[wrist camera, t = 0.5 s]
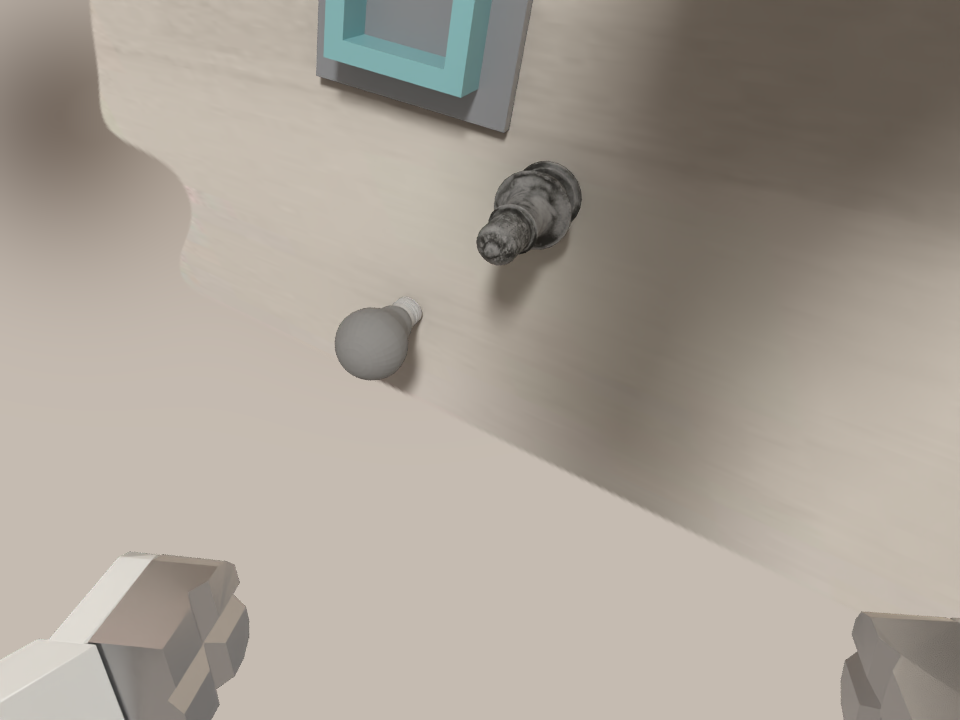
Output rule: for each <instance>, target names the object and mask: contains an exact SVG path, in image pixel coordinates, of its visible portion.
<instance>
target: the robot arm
mask: <svg viewBox="0 0 960 720" xmlns="http://www.w3.org/2000/svg"><path fill="white" fill-rule="evenodd" d="M239 583H240V581H239V578H238V575H237V571H236V568H235V565H234V564H232V563H230V562H227V561H220V560H211V559H201V558H192V557H182V556H173V555H164V554H163V555H156V554H147V553H138V552H128V553H126V554H124V555H122V556H120V557H118V559H117V560H116V561H115V562H114V563H113V564H112V565H111V567H110V568H109V569H108V570H107V571H106V573H105V574H104V575H103V576H102V577H101V578H100V580H99V581H98V582H97V583H96V584H95V585H94V587H93V588H92V589H91V590H90V591H89V593H88V594H87V595H86V596H85V597H84V598H83V600H82V601H81V602H80V603H79V604H78V606H77V607H76V608H75V609H74V610H73V612H72V613H71V614H70V615H69V616H68V617H67V619H66V620H65V621H64V622H63V623H62V624H61V626H60V627H59V628H58V629H57V630H56V632H55V633H54V634H53V635H52V636H51V637H50V639H49V640H45V639H37V640H35V641H33V642H32V643H30V644H28V645H26V646H24V647H23V648H21V649H19V650H17V651H15V652H14V653H12V654H10V655H8V656H6V657H4V658H3V659H1V660H0V720H211V719H212V718H213V716H214V714H215V712H216V710H217V708H218V706H219V700H218V695H217V690H216V689H217V688H219V687H220V686H222V685H223V684H224V683H226V682H227V681H229V680H230V679H231V678H233V677H234V676H235V674H236V673H237V671H238V669H239V667H240V665H241V663H242V661H243V659H244V655H245V651H246V647H247V643H248V638H249V618H248V613H247V609H246V606H245V605H244V604H243V603H242V602H241V601H240V600H239V599H238V598H237V597H236V596H235V595H234V594H233V593H234V592H235V590H236V588H237V587H238V585H239ZM852 636H853V640H854V642H855V645H856V648H857V652H856V653H855V654H853V655H852V656H850V657H849V658H848V659H846V660H845V663H844V667H843V673H842V677H841V706H842V712H843V717H844V720H960V618H950V619H949V618H946V617H933V616H919V615H905V614H891V613H877V612H861V613H860V614H859V616H858V617H857V618H856V620H855V624H854V628H853V631H852Z"/></svg>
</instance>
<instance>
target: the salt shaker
mask: <svg viewBox="0 0 960 720" xmlns="http://www.w3.org/2000/svg"><path fill="white" fill-rule="evenodd" d="M581 200H582V199H581V190H580V187H579V184H578V181H577V180H576V178H575V177H574V175H573V174H572V173H571V172H570V171H569V170H568V169H567V168H565V167H564V166H562V165H560V164H558V163H554V162H550V161H540V162H537V163H534V164H531V165H530V166H528V167H527V168H526V169H524V170H523V171H521V172H518V173H515V174H512V175H511V176H510V177H508V178H507V179H505V180H504V182H503V183H502V184H501V185H500V187H499V188H498V191H497V193H496V196H495V202H494V211H493V212H492V214H491V215H490V218H489V222H488V224H486V225H485V226H484V227H483V228H482V229H481V231H480V232H479V234H478V237H477V248H478V251H479V253H480V254H481V256H482V257H483V258H484V259H485V260H486V261H488V262H489V263H491V264H494V265H504V264H507V263H509V262H511V261H512V260H513V259H514V258H515V257H516V256H517V255H518V254H523V253H526V252H528V251H529V250H531V249H545V248H549V247H551V246H553V245H555V244H556V243H558V242H559V241H560V240H561V239H562V238H563V237H564V236H565V235H566V232H567V230H568V228H569V226H570V222H571V221H572V220H573V219H574V218H575V217H576V216H577V214H578V212H579V209H580V206H581Z"/></svg>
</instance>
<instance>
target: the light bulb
mask: <svg viewBox="0 0 960 720" xmlns="http://www.w3.org/2000/svg"><path fill="white" fill-rule="evenodd" d="M421 316H422V311H421V308H420V306H419V304H418V303H417V302H416V301H415V300H414V299H412V298H410V297H401V298H399V299H398V300H397V301H396V302H395V303H393V304H392V305H390V306H386V307H384V308H382V309H381V308H363V309H360V310H358V311H355V312H353V313H351V314H350V315H349V316H347V317H346V318H345V319H344V320H343V321H342V322H341V324H340V325H339V328H338V330H337V332H336V337H335V351H336V355H337V357H338V360H339V362H340V363H341V365H342V366H343V367H344V368H345V370H346V371H347V372H349V373H350V374H352V375H354V376H356V377H358V378H360V379H365V380H380V379H383V378H386V377H388V376H390V375H392V374H394V373H395V372H396V371H397V370H398V369H399V368H400V366H401V365H402V363H403V361H404V360H405V357H406V355H407V351H408V336H409V334H410V333H411V329H412V327H413V326H414V325H415V324H416V323H417V322H418V321H419V320H420V319H421Z"/></svg>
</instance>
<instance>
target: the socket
mask: <svg viewBox="0 0 960 720" xmlns="http://www.w3.org/2000/svg"><path fill="white" fill-rule="evenodd" d="M532 2H533V0H319V6H318V37H317V68H316V76H319V77H323V78H326V79H329V80H332V81H336V82H339V83H342V84H345V85H349V86H352V87H355V88H359V89H362V90H365V91H368V92H372V93H375V94H378V95H382V96H385V97H388V98H391V99H395V100H398V101H401V102H404V103H408V104H411V105H414V106H418V107H421V108H424V109H427V110H431V111H434V112H437V113H441V114H444V115H447V116H450V117H454V118H457V119H460V120H463V121H467V122H470V123H473V124H477V125H480V126H483V127H486V128H490V129H493V130H496V131H500V132H503V133H504V132H506V131H507V130H509V126H510V121H511V115H512V110H513V104H514V99H515V94H516V88H517V83H518V77H519V72H520V67H521V61H522V56H523V50H524V45H525V40H526V34H527V29H528V23H529V18H530V13H531V7H532Z"/></svg>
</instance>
